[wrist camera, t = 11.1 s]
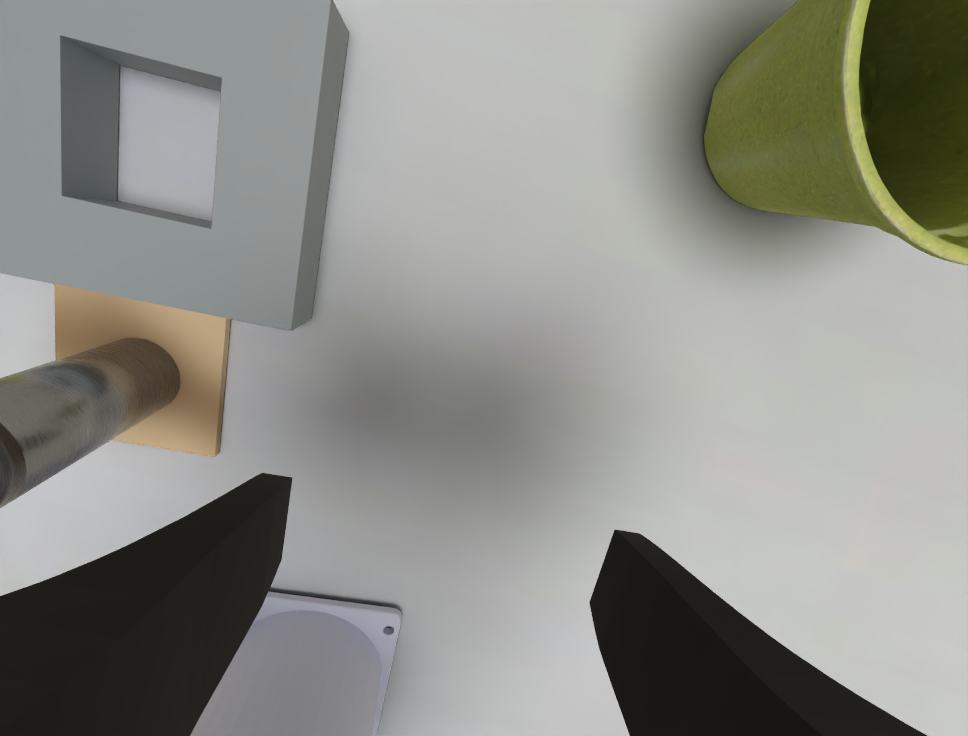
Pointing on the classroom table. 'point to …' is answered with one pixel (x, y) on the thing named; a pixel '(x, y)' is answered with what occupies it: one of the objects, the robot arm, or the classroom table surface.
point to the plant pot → (852, 119)
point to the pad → (179, 332)
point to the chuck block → (239, 162)
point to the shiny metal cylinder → (77, 408)
